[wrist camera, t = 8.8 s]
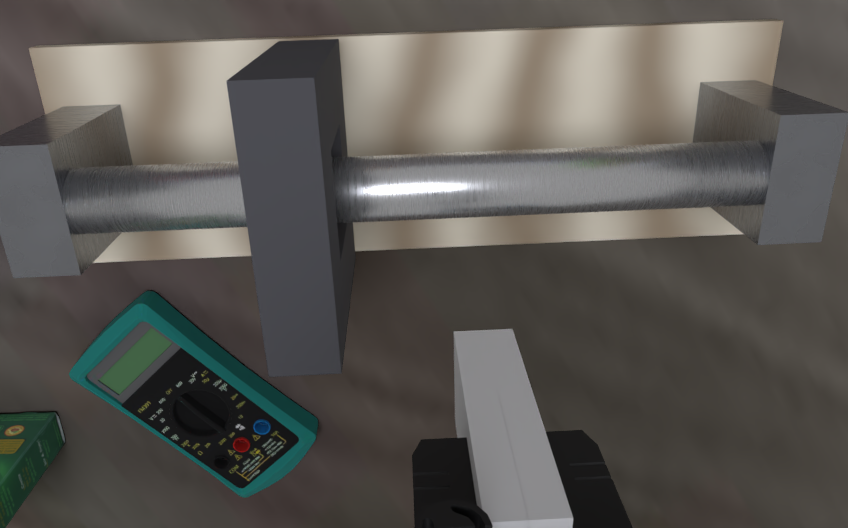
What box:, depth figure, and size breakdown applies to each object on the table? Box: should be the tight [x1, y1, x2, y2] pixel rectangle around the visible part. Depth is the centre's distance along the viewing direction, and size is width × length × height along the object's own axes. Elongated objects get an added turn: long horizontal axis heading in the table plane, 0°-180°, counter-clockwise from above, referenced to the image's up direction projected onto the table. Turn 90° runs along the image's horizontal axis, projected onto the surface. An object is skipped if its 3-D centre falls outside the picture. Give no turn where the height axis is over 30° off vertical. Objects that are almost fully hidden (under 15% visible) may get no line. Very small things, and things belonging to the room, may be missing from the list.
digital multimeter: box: [69, 291, 318, 497], centre depth 44 cm, size 7×15×3 cm, turn 43°
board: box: [29, 19, 783, 263], centre depth 39 cm, size 39×12×1 cm, turn 92°
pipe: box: [0, 80, 848, 278], centre depth 34 cm, size 37×6×9 cm, turn 92°
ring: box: [226, 39, 355, 377], centre depth 32 cm, size 3×12×12 cm, turn 2°
